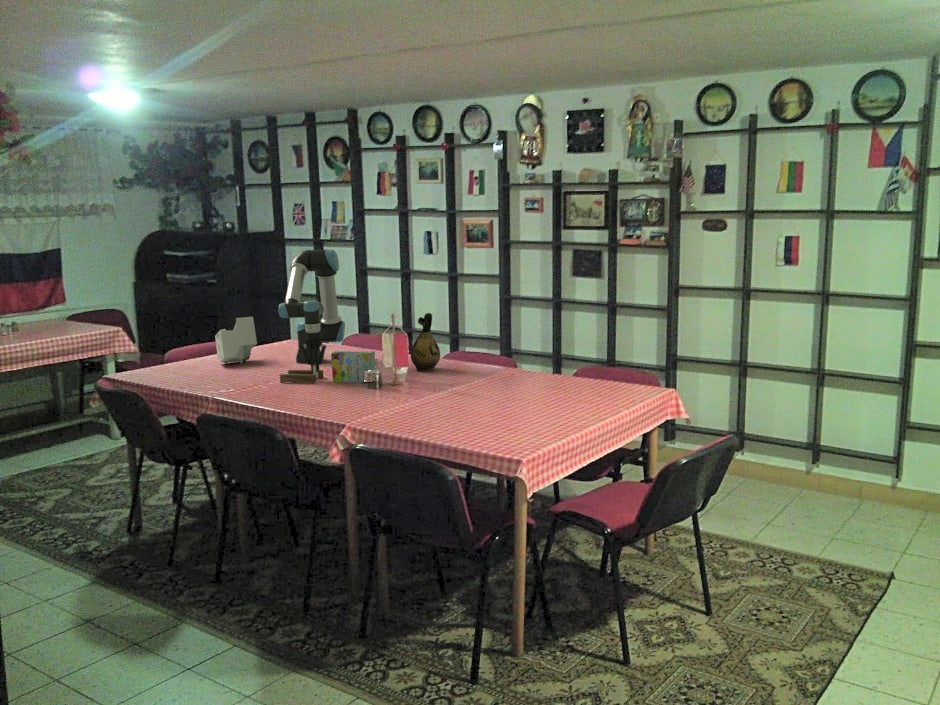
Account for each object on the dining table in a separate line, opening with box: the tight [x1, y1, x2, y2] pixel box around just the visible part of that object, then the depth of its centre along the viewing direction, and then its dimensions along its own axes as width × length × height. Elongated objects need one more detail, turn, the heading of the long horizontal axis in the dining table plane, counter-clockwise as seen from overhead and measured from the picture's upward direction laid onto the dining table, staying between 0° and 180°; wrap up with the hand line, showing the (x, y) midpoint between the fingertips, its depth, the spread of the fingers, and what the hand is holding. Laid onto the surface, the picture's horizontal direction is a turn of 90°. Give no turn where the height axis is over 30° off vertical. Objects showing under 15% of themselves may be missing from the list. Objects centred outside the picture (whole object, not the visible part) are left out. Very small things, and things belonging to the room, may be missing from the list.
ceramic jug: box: [410, 312, 441, 373], centre depth 441 cm, size 17×15×30 cm
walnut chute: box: [279, 369, 324, 384], centre depth 426 cm, size 13×18×4 cm
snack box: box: [331, 350, 376, 384], centre depth 418 cm, size 21×6×15 cm, turn 78°
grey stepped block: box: [214, 316, 258, 365], centre depth 475 cm, size 20×16×25 cm
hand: (315, 377), depth 425 cm, fingers closed
